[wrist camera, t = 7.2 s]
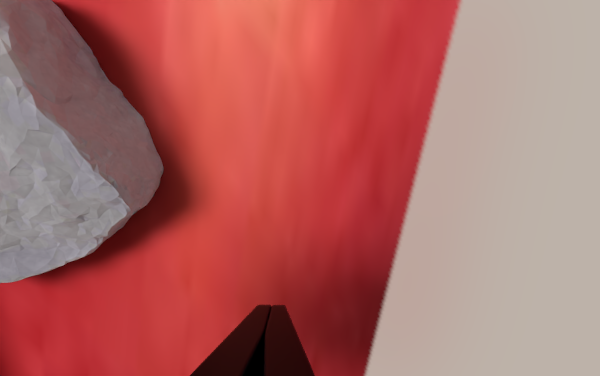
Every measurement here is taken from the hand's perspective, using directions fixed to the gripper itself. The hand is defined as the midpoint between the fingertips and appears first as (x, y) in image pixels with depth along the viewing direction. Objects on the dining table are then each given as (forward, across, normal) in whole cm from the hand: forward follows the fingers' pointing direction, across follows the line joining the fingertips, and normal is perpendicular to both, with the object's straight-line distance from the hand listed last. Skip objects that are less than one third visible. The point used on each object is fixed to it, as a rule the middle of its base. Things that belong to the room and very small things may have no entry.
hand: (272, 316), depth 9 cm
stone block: (+6, +12, -4) cm, 14 cm away
